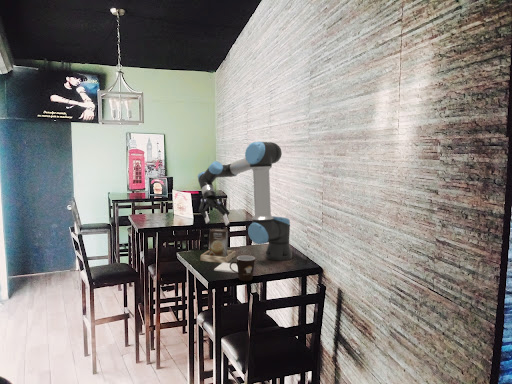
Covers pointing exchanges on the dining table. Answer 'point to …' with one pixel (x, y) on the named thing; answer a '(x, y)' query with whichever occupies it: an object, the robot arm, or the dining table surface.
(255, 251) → the dining table surface
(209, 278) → the dining table surface
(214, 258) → the pocket frame
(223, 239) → the coffee box
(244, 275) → the coffee mug
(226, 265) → the white napkin
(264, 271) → the dining table surface
